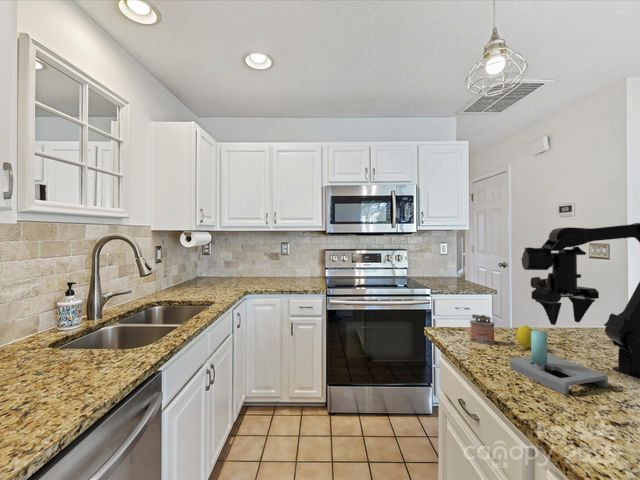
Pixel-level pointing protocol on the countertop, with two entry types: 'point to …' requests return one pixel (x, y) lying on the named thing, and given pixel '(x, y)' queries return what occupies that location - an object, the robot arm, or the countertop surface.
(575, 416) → the countertop surface
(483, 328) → the lighter
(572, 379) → the keyhole plate
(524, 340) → the lemon
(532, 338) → the peg
